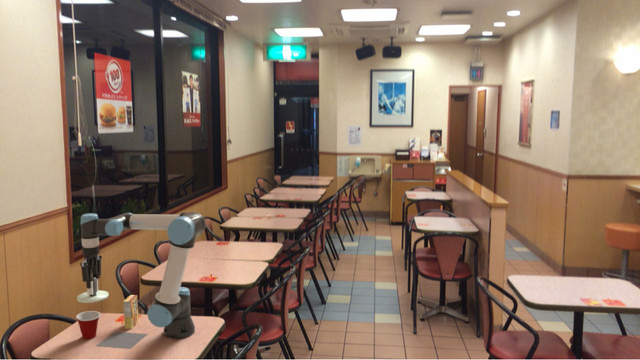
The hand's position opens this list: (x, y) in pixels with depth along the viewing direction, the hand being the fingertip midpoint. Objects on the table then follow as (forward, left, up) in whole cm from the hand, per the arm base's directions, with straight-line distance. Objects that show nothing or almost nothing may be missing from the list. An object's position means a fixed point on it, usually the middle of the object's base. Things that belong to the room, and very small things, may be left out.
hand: (92, 292), depth 240 cm
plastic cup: (+3, 0, -24) cm, 24 cm away
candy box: (-10, -16, -24) cm, 30 cm away
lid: (0, 0, -2) cm, 2 cm away
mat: (-15, 0, -23) cm, 28 cm away
